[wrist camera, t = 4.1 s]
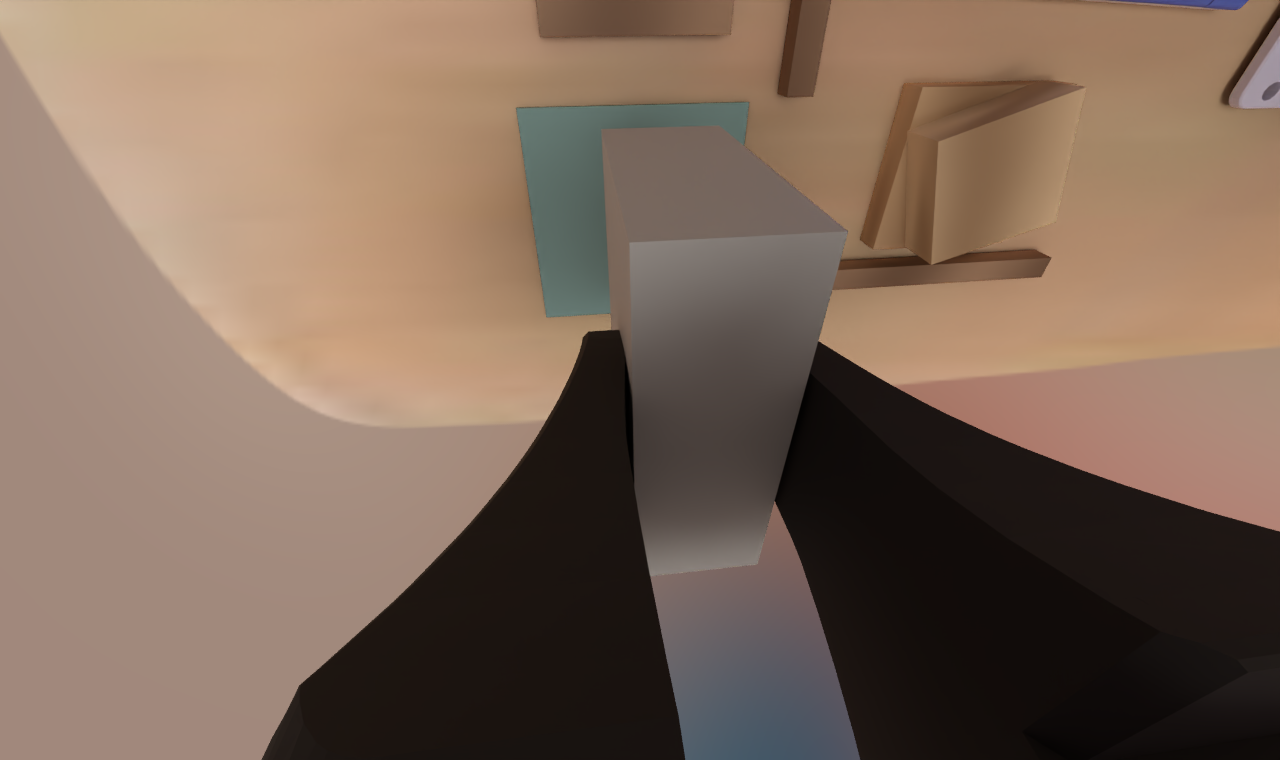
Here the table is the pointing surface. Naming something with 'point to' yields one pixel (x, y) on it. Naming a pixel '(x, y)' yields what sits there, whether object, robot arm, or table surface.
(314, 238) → the table surface
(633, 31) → the rack
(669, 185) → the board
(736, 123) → the mat
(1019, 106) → the offcut top
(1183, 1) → the hard drive
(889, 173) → the offcut bottom
